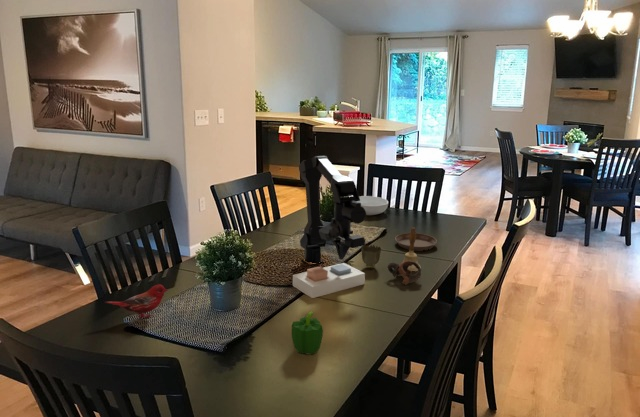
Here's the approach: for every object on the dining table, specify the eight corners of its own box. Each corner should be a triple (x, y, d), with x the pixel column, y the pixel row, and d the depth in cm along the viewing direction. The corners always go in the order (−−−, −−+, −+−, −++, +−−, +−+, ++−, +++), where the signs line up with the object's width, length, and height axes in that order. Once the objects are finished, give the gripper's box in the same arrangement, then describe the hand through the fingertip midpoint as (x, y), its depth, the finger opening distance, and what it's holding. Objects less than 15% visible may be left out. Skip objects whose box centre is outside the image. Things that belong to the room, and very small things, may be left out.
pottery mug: (418, 276, 187) (424, 262, 182) (414, 296, 181) (421, 282, 175) (386, 266, 188) (392, 251, 183) (381, 285, 182) (387, 270, 176)
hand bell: (423, 266, 196) (426, 226, 192) (417, 273, 189) (420, 232, 185) (402, 262, 200) (405, 223, 196) (396, 269, 192) (398, 228, 188)
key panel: (292, 285, 175) (292, 274, 174) (343, 273, 188) (343, 262, 187) (312, 298, 166) (312, 286, 165) (364, 284, 178) (364, 273, 177)
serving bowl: (346, 217, 263) (346, 204, 261) (350, 207, 283) (351, 194, 281) (386, 219, 259) (387, 206, 258) (388, 209, 279) (389, 197, 278)
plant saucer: (425, 255, 208) (425, 248, 208) (387, 246, 219) (387, 239, 218) (443, 245, 222) (443, 238, 221) (406, 236, 232) (407, 230, 232)
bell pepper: (308, 362, 129) (308, 326, 126) (285, 350, 134) (285, 315, 132) (329, 349, 135) (330, 315, 133) (307, 338, 140) (307, 305, 138)
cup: (379, 272, 189) (380, 251, 187) (359, 270, 191) (360, 250, 189) (380, 265, 196) (381, 245, 194) (361, 263, 198) (362, 243, 196)
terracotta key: (306, 277, 174) (307, 269, 173) (319, 274, 176) (319, 266, 176) (315, 282, 170) (315, 274, 169) (327, 279, 172) (327, 271, 172)
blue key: (330, 274, 179) (330, 266, 179) (341, 272, 182) (342, 264, 181) (339, 279, 176) (339, 271, 175) (350, 276, 178) (350, 268, 178)
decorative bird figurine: (169, 316, 151) (167, 285, 149) (105, 323, 146) (102, 291, 144) (169, 312, 154) (167, 281, 151) (106, 319, 149) (103, 287, 146)
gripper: (307, 213, 176) (307, 255, 180) (340, 226, 161) (338, 272, 165) (333, 208, 182) (332, 250, 186) (367, 221, 168) (365, 265, 172)
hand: (341, 259), depth 177 cm, fingers closed
